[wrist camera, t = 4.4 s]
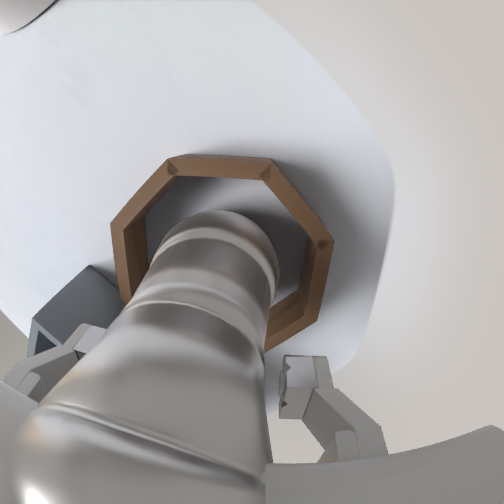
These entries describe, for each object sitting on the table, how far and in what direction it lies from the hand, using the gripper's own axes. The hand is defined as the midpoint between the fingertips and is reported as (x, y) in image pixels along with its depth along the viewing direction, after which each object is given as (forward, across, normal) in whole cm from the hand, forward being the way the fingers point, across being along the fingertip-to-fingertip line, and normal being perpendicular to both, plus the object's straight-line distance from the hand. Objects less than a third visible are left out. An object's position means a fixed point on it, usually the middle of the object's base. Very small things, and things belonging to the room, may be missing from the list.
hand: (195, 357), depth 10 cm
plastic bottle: (+9, 0, -1) cm, 9 cm away
